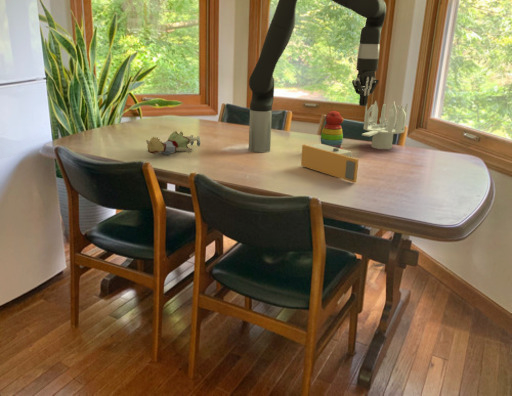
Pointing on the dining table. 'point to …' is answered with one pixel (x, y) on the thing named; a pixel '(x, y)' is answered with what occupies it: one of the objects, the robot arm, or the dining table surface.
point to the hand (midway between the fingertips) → (362, 105)
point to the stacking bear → (332, 130)
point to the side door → (330, 163)
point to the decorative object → (384, 132)
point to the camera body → (332, 149)
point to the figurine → (172, 144)
